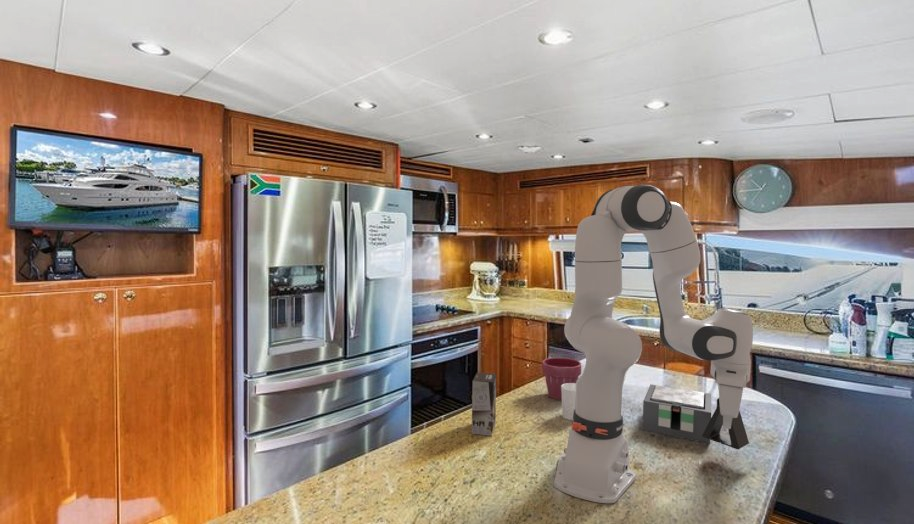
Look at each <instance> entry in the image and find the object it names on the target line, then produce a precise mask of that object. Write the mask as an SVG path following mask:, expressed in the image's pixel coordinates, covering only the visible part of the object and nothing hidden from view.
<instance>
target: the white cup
mask: <svg viewBox="0 0 914 524" xmlns="http://www.w3.org/2000/svg"><path fill="white" fill-rule="evenodd" d="M561 396H562V400H561V409H562V410H561V411H562V412H561V413H562V418H564V419H565V420H568V421H570V422H571V421H572V418H573V413H574V410H575V399H576V383H565V384H562V385H561ZM572 422H573V421H572Z"/></svg>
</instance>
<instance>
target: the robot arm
mask: <svg viewBox="0 0 914 524" xmlns="http://www.w3.org/2000/svg"><path fill="white" fill-rule="evenodd" d="M636 231H640V232H641V233H642V235H643V236H644V237H645V240H646V243H647V247H648V251H649V253H650V258H651V262H652V266H653V268H652V269H653V270H652V282H653V287H654V292H655V297H656V303H657V306H658V312H659V320H660V321H659V336H660V337H659V338H660V341H661V342H662V344H663V345H664V347H665V348H667V349H669V350H671V351H675V352H679V353H681V354H682V353H683V354H685V355H688V356H690V357H693V358H695V359H698V360H701V361H709V362H710V376H711V377H713V378H714V380H715V383H716V384H717V385H716V386H717V387H718V388H717V389H718V398H719V405H720V413H721V415H722V416H723V425H722V428H724V429H726V430H728V429H731V423H732V419H733V418H737V416H738V413H739V411H740V408H741V402H742V398H743V393H744V392H743V391H744V389H746V387H747V384H748V383H749V382H750V380H751V368H752V367H751V365H752V360H751V355H750V354H751V349H752V348H753V339H754V328H753V327H754V326H753V319H752V317H751V316H750V315H749V314H748V313H746V312H744V311H739V310H734V309H730V308H727V307H726V308H724V307H723V308H722V307H721V308H718V309H717V311H716V312H715V313H713V314H712V315H710V316H709V317H707V318H706V317H705V318H704V319H701V320H699V319H695V318H692V317H691V316H690V315H688V314H687V312H686V311H685V308H684V303H683V299H682V293H681V288H680V287H681V282H682V280H684V279H686V278H688V277H690V276H691V275H692V274H694V273H695V272H696V271H697V269H698V268H699V265H700V264H701V251H700V247H699V242H698V241H697V237H696V234H695V231H694V229H693V226H692V223H691V221H690V219H689V217H688V215H687V213H686V211H685V210H684V208H683V206H682V205H681V204H680V203H677V202H675V201H670V200H669V199H668V198H667V196H666V194H665V193H664V192H663V191H662V190H661V189H660V188H658V187H656V186H653V185H650V184H637V185H625V186H624V185H623V186H620V187H617V188H614V189H609V190H607V191H606V192H604V193H602V194H601V195H600V196H599V198H598V199H597V200H596V203H595V204H594V207H593V211H592V213H591V215H589V216H586V217H585V218H583V219H581V221H580V222H579V223H578V225H577V229H576V235H575V241H574V243H575V245H574V287H575V288H574V298H573V304H572V307H571V308H572V309H571V312H570V315H569V317H568V318H567V319H566V321H565V323H564V330H563V332H564V336H565V338H566V340H567V341H568V343H569V344H570V345H571V346H572V347H573V348H574V349H575V350H576V351H578V352H580V353H582V354H583V355H585V364H584V368H583V370H582V373H581V375H579V377H578V379H577V381H576V399H575V410H574V413H573V418H572V423H571V427H570V428H569V429H568V439H567V443H566V447H564V449H563V452H564V453H563V454H560V455H559V459H558V464H557V468H556V474H555V476H554V477H555V478H554V481H553V482H554V483H553V486H554V487H555V488H556V489H557V490H559V491H560V492H563V493H565V494H567V495H569V496H572V497H575V498H577V499H581V500H586V501H590V502H594V503H600V504H615V503H616V502H617V501H618V500H619V499H620V497H622V495H623V494H624V493H625V492H626V491H627V490H628V488H629V487H630V486H631V485H632V484H633V483H634V482H635V481H636V479H637V473H636V471H634V470H633V469H631V468H630V447H629V443H630V442H629V441H628V440H627V438H626V437H625V436H624V434H623V432H624V431H623V430H624V417H623V415H622V401H623V400H622V399H623V388H624V382H625V380H626V376H627V374H628V371H629V370H630V368H631V367H633V366H634V365H635V364H636V363H637V362H638V361H639V360H640V357H641V356H642V351H643V343H642V339H641V336H640V335H639V334H638V333H637V332H636V331H635V330H634V329H633V328H632V327H630V326H629V325H627V324H626V323H625V322H623V321H620V320H617V319H614V318H613V310H614V306H615V303H616V300H617V299H618V297H619V296H621V294H622V291H623V266H622V263H623V261H622V260H623V259H622V241H623V238H624V236H625V234H626V233H627V232H636Z"/></svg>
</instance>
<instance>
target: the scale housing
mask: <svg viewBox="0 0 914 524" xmlns="http://www.w3.org/2000/svg"><path fill="white" fill-rule="evenodd" d="M656 385H657V384H651V383H650V385H649V387H648V389H647V391H646V394H645V396H644V399H643V401H642V402H643V406H642V431H646V430H647V432H651V431H652V433H657V434H661V435H665V436H667V435H668V436H671V435H672V437H676V436H677V437H676V438H681V437H683V438H682V439H685V438H687V439H686V440H690V439H692V441H695V440H698V441H697V442H700V441H701V442H702V443H705V442H706V443H707V444H711V440H710V439H707V438H704V437H703V436H702V435H703V433H704V431H705V429H706V427H707V425H708V423H709V421H710V419H711V417H712V393H708V392H704V408H703V409H698V408H692V407H686V406H681V407H679V412H677V411H673V405H672V404H669V403H663V402H657V401H652V400H651V397H652V395H653V392H654V390H655V387H656ZM701 442H700V443H701Z"/></svg>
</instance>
